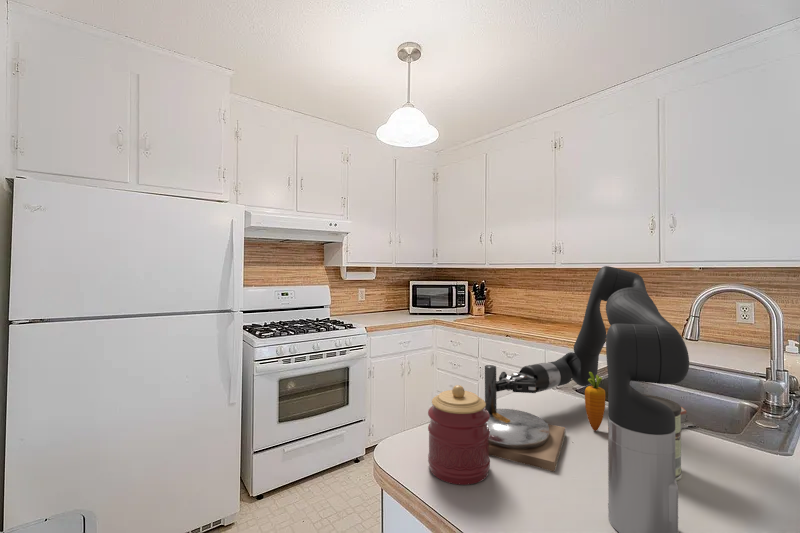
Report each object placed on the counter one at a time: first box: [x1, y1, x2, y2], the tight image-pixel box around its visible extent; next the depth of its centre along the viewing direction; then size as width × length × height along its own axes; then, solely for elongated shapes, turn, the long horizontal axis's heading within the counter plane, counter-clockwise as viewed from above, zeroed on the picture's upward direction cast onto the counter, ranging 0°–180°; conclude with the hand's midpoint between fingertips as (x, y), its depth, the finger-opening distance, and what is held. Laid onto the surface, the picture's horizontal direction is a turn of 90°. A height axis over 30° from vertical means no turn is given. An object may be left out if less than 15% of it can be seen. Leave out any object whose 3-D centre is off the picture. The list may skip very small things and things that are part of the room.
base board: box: [489, 423, 566, 472], centre depth 90 cm, size 23×19×2 cm
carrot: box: [584, 372, 606, 432], centre depth 95 cm, size 5×5×15 cm
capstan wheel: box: [484, 364, 549, 449], centre depth 90 cm, size 18×18×14 cm
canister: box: [427, 384, 491, 486], centre depth 78 cm, size 13×13×18 cm
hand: (493, 387), depth 98 cm, fingers closed
